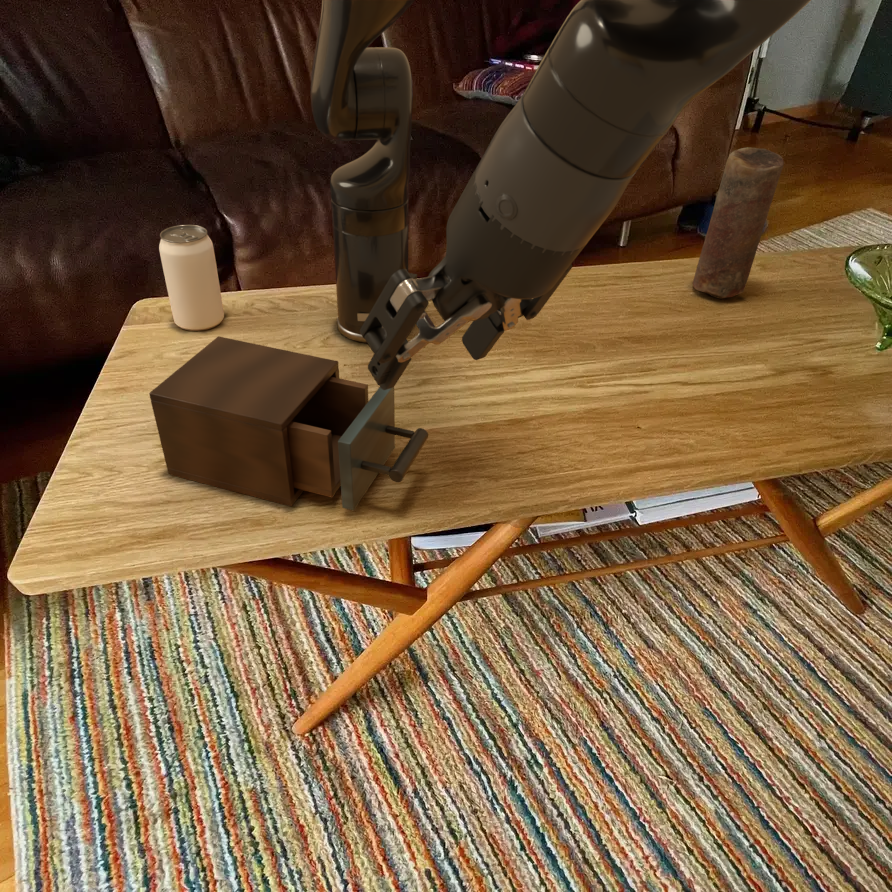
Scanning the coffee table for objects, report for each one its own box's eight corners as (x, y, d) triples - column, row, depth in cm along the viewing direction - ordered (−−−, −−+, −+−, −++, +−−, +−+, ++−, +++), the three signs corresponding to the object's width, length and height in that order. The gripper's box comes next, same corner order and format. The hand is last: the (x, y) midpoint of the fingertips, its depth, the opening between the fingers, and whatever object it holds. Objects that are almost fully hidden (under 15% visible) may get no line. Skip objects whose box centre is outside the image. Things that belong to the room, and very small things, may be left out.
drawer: (433, 456, 77) (435, 392, 73) (395, 522, 69) (395, 454, 65) (286, 422, 81) (279, 359, 77) (235, 480, 73) (223, 414, 69)
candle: (752, 292, 113) (793, 154, 101) (731, 308, 109) (772, 166, 97) (704, 277, 117) (738, 142, 105) (682, 292, 113) (716, 153, 100)
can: (204, 304, 104) (190, 219, 97) (234, 319, 101) (221, 232, 94) (164, 321, 100) (145, 233, 93) (194, 337, 97) (176, 247, 90)
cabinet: (343, 438, 81) (338, 360, 75) (291, 506, 72) (281, 424, 66) (230, 412, 84) (218, 335, 78) (168, 474, 75) (148, 393, 69)
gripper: (583, 139, 47) (472, 304, 60) (403, 158, 39) (318, 345, 52) (654, 229, 45) (524, 380, 58) (481, 268, 37) (373, 435, 50)
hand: (427, 363), depth 55 cm, fingers open, 8 cm apart
